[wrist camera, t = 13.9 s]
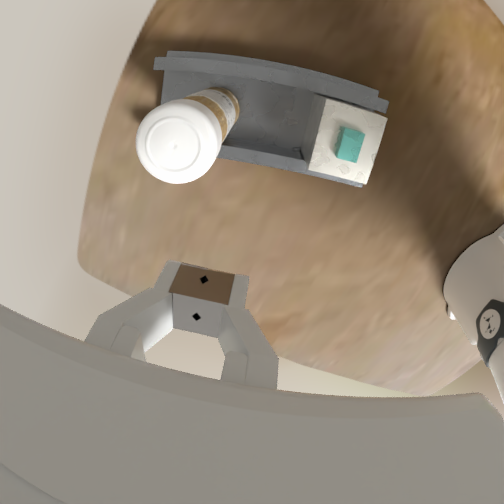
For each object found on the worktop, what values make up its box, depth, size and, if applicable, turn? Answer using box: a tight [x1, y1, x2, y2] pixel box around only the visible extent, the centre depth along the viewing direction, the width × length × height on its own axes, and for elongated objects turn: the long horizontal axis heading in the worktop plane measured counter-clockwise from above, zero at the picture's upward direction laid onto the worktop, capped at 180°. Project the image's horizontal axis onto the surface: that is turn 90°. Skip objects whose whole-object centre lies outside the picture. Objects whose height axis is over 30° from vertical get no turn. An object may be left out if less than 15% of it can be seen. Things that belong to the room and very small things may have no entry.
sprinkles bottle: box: [136, 87, 240, 184], centre depth 19 cm, size 5×5×14 cm
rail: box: [153, 51, 389, 188], centre depth 22 cm, size 20×10×8 cm, turn 80°
